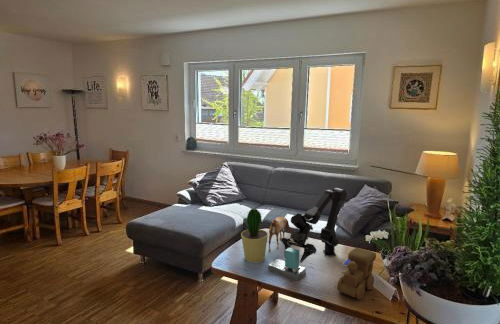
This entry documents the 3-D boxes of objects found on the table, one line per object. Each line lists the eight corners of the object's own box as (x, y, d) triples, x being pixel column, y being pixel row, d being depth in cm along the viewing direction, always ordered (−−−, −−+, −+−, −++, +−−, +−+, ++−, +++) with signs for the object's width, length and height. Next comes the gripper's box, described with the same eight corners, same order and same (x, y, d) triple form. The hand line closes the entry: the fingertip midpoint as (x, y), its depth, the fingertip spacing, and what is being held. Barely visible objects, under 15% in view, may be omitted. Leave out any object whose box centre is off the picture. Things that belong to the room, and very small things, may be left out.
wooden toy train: (354, 277, 160) (355, 246, 157) (376, 285, 152) (378, 253, 149) (334, 294, 145) (335, 260, 142) (358, 304, 138) (360, 268, 135)
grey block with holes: (277, 263, 175) (277, 258, 174) (305, 273, 164) (305, 267, 164) (268, 270, 168) (268, 264, 167) (297, 280, 157) (297, 275, 157)
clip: (289, 270, 167) (289, 247, 165) (298, 273, 164) (299, 250, 161) (285, 273, 164) (285, 250, 162) (295, 277, 160) (295, 253, 158)
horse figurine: (274, 256, 183) (274, 222, 180) (262, 253, 187) (262, 220, 183) (293, 237, 210) (293, 207, 207) (282, 235, 214) (282, 206, 211)
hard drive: (350, 255, 181) (343, 263, 171) (365, 259, 177) (358, 268, 167) (350, 257, 182) (343, 266, 172) (365, 261, 177) (358, 270, 167)
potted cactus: (257, 267, 171) (257, 214, 166) (236, 259, 180) (234, 209, 175) (273, 256, 183) (273, 207, 178) (252, 249, 192) (251, 202, 187)
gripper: (282, 222, 170) (271, 249, 163) (314, 230, 159) (303, 259, 152) (290, 231, 177) (279, 257, 171) (320, 239, 166) (310, 267, 159)
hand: (292, 260), depth 163 cm, fingers open, 9 cm apart
